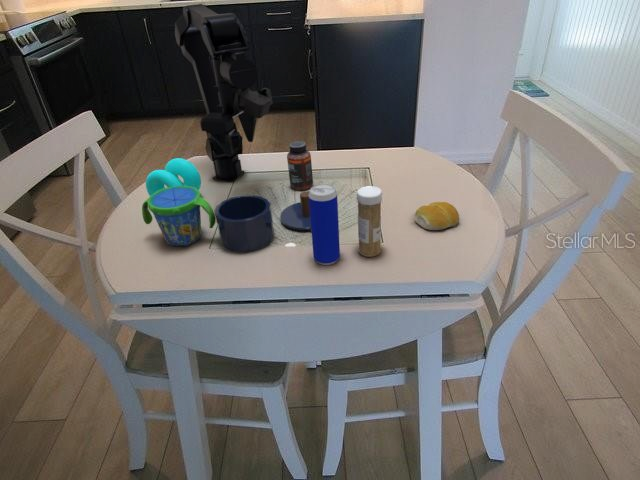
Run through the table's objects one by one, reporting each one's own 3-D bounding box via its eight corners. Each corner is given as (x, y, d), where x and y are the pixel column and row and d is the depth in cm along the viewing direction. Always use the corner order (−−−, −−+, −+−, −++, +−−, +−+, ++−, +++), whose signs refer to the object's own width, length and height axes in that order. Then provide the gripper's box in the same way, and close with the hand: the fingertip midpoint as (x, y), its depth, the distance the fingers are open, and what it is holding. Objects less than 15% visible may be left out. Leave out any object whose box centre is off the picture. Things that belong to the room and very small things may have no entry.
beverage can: (343, 253, 91) (340, 184, 83) (335, 267, 87) (331, 197, 79) (318, 249, 93) (313, 182, 84) (310, 264, 89) (303, 194, 80)
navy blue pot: (211, 247, 96) (204, 216, 92) (238, 221, 104) (233, 192, 100) (258, 256, 92) (252, 224, 88) (282, 228, 100) (279, 198, 96)
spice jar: (384, 255, 89) (385, 194, 82) (361, 259, 89) (361, 197, 81) (376, 243, 93) (377, 183, 86) (355, 247, 93) (353, 187, 85)
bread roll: (465, 223, 98) (467, 206, 95) (432, 235, 94) (433, 218, 92) (440, 207, 104) (441, 191, 102) (407, 218, 101) (408, 202, 99)
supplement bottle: (314, 180, 120) (311, 139, 114) (312, 191, 115) (308, 148, 109) (292, 181, 120) (287, 139, 114) (288, 191, 115) (283, 148, 109)
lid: (279, 234, 98) (276, 209, 95) (281, 207, 109) (278, 184, 105) (336, 230, 98) (335, 205, 95) (332, 203, 109) (331, 180, 105)
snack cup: (227, 229, 101) (219, 188, 96) (203, 256, 93) (193, 212, 88) (167, 222, 106) (156, 182, 100) (139, 246, 97) (125, 204, 92)
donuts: (149, 208, 112) (138, 170, 107) (174, 190, 120) (165, 154, 114) (183, 213, 109) (173, 175, 103) (206, 195, 116) (199, 158, 111)
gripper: (239, 93, 88) (251, 168, 96) (282, 70, 102) (289, 137, 111) (191, 90, 92) (206, 163, 100) (239, 69, 106) (249, 134, 115)
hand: (240, 148), depth 106 cm, fingers open, 9 cm apart
